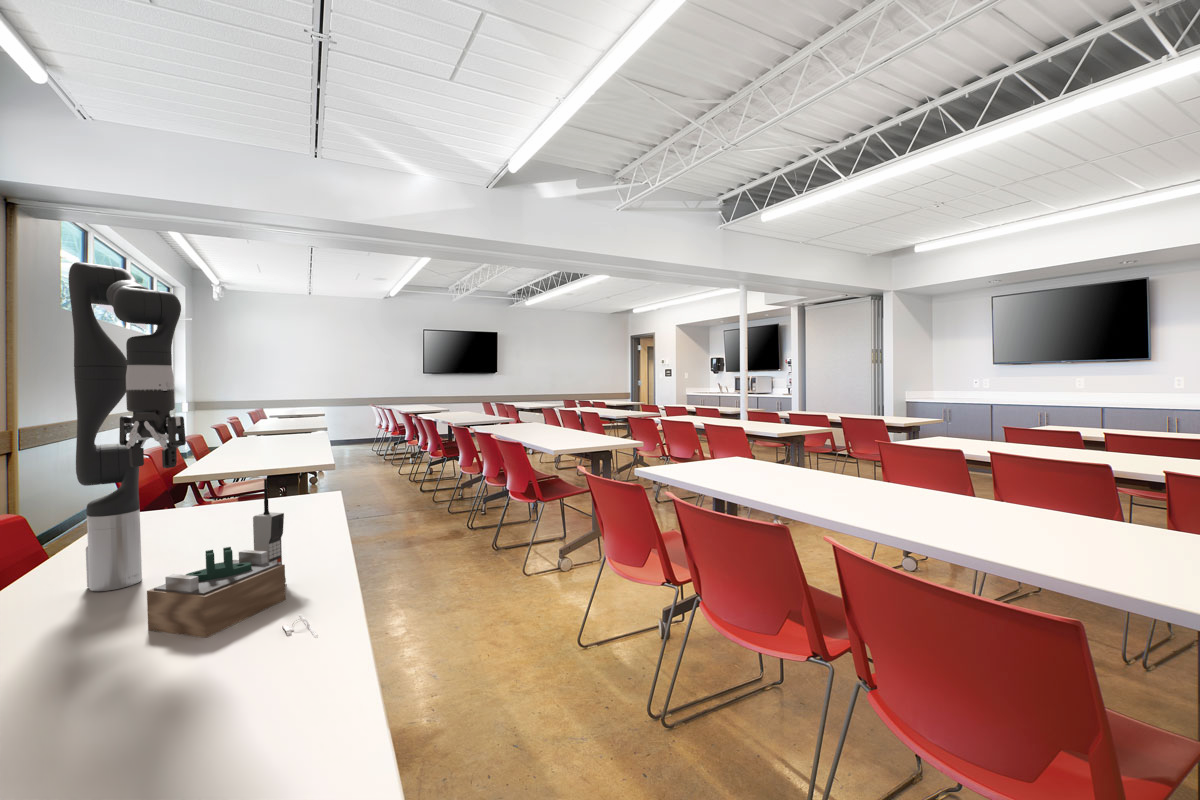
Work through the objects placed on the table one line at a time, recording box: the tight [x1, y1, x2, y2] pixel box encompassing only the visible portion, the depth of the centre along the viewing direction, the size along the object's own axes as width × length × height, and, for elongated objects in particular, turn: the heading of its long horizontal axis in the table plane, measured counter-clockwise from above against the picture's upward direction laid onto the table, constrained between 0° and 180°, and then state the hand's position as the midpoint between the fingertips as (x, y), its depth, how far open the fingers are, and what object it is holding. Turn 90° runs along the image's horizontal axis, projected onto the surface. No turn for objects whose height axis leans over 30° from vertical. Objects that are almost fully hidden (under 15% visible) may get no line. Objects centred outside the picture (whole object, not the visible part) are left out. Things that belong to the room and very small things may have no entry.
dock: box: [146, 549, 287, 638], centre depth 108 cm, size 14×18×10 cm
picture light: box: [281, 613, 319, 639], centre depth 101 cm, size 14×4×2 cm, turn 41°
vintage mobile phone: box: [252, 478, 287, 584], centre depth 124 cm, size 4×5×25 cm
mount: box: [185, 546, 252, 581], centre depth 108 cm, size 11×4×5 cm, turn 129°
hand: (153, 466), depth 109 cm, fingers open, 8 cm apart
